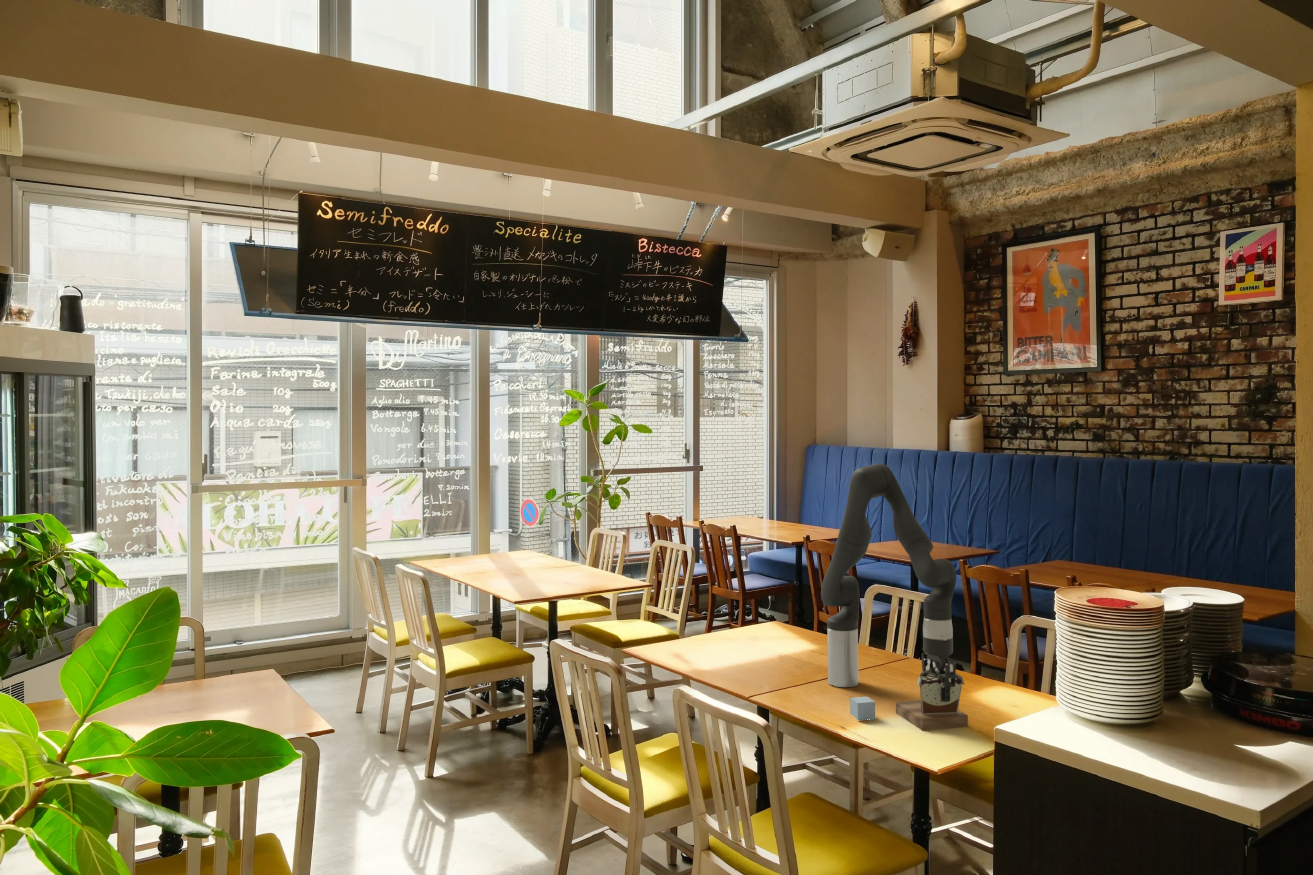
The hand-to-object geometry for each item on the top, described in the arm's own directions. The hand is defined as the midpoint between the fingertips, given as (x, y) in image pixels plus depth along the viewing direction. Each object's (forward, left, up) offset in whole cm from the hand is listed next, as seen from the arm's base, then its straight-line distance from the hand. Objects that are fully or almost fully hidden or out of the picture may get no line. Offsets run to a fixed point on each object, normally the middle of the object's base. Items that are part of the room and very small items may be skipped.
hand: (938, 697), depth 236 cm
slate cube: (-9, -17, -7) cm, 21 cm away
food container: (-2, 0, -4) cm, 4 cm away
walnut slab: (-3, 0, -7) cm, 8 cm away
